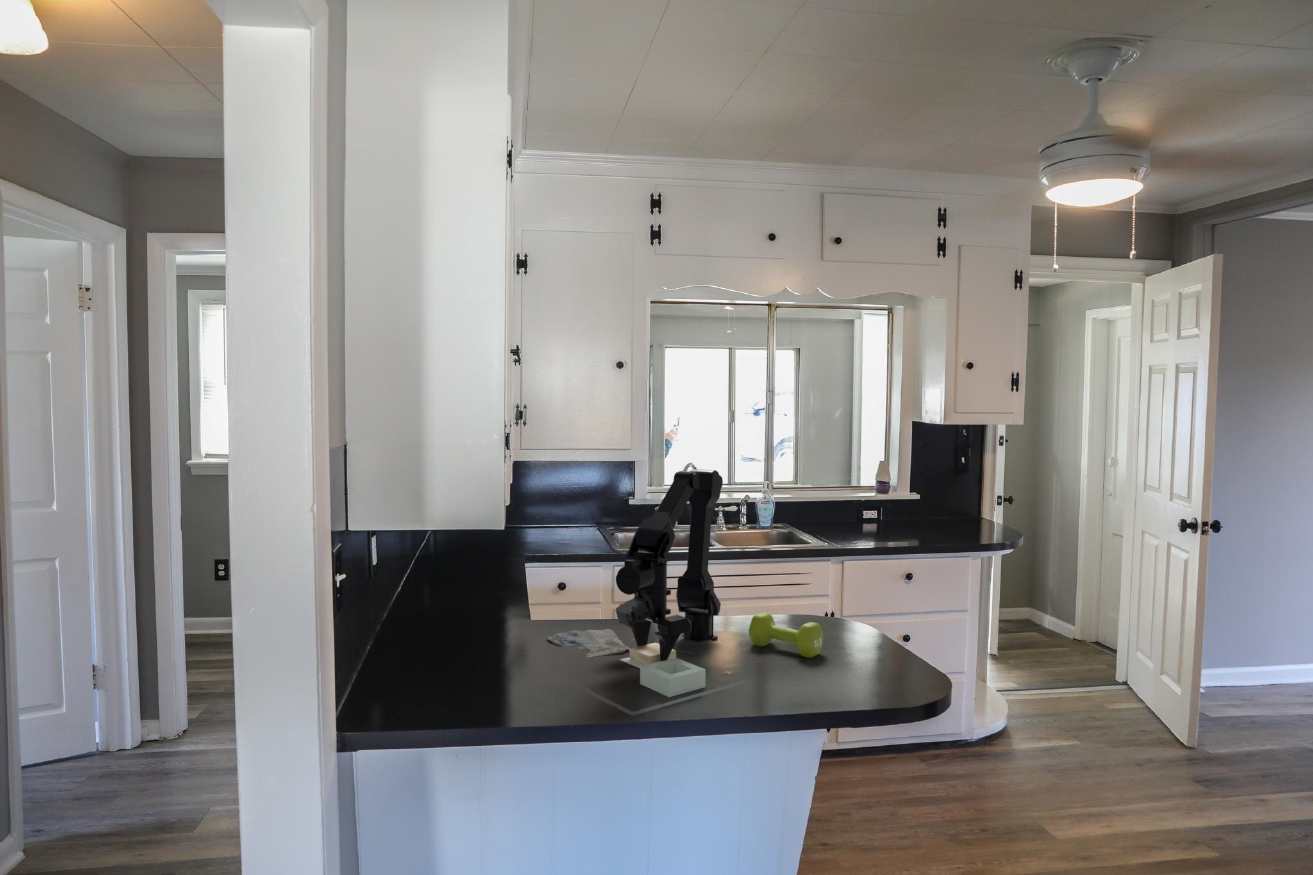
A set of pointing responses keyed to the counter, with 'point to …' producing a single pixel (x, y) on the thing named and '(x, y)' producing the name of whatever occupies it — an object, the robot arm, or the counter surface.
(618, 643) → the crumpled grey cloth
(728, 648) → the counter surface
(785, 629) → the dumbbell
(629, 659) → the mat
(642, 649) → the lid
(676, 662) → the dish
